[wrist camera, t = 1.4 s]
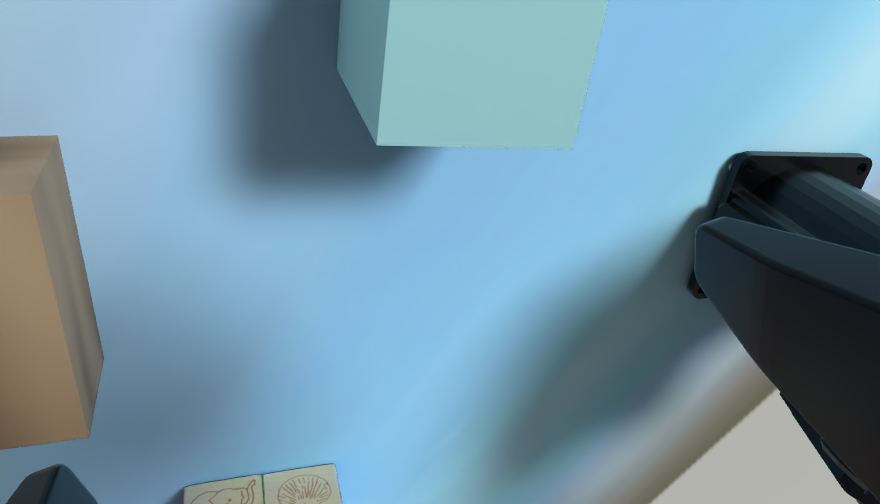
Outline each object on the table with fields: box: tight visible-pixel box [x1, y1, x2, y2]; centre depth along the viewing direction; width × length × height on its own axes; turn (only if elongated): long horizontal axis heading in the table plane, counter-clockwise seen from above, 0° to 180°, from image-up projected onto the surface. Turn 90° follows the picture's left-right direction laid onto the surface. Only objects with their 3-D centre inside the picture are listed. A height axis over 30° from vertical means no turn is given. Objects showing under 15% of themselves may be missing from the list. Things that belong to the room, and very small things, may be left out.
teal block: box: [337, 0, 609, 149], centre depth 18 cm, size 5×5×6 cm
